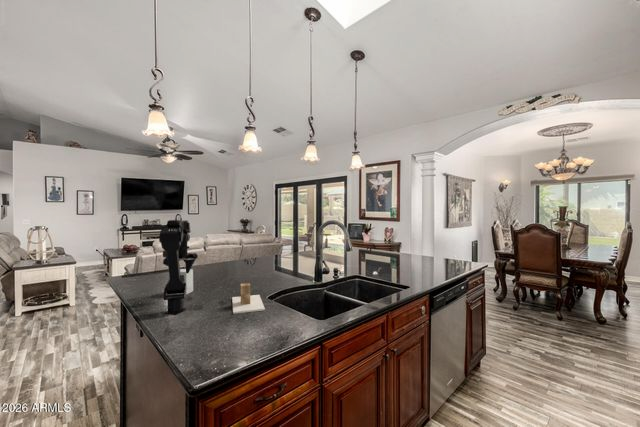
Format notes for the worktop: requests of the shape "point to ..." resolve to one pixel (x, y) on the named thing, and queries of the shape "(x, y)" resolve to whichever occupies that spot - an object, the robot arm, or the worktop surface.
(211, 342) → the worktop surface
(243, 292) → the oak block
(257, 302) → the cutting board
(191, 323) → the worktop surface
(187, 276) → the supplement box
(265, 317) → the worktop surface
